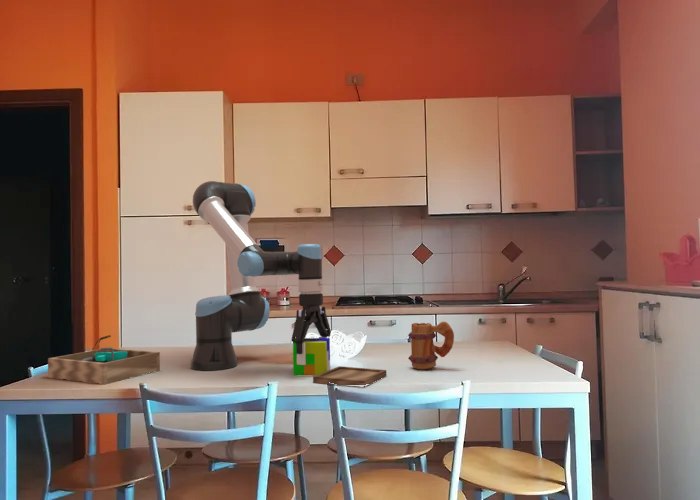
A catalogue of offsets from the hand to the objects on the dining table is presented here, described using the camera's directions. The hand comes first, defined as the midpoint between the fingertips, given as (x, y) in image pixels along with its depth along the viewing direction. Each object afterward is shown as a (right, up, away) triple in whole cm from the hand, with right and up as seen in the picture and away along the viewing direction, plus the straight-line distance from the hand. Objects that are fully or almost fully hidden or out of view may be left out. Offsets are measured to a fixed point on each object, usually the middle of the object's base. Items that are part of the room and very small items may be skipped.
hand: (312, 360), depth 169 cm
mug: (+37, -3, +1) cm, 38 cm away
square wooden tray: (+12, -3, -11) cm, 17 cm away
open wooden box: (-67, -5, +4) cm, 67 cm away
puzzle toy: (0, -4, 0) cm, 4 cm away
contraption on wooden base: (-67, -5, +3) cm, 67 cm away
